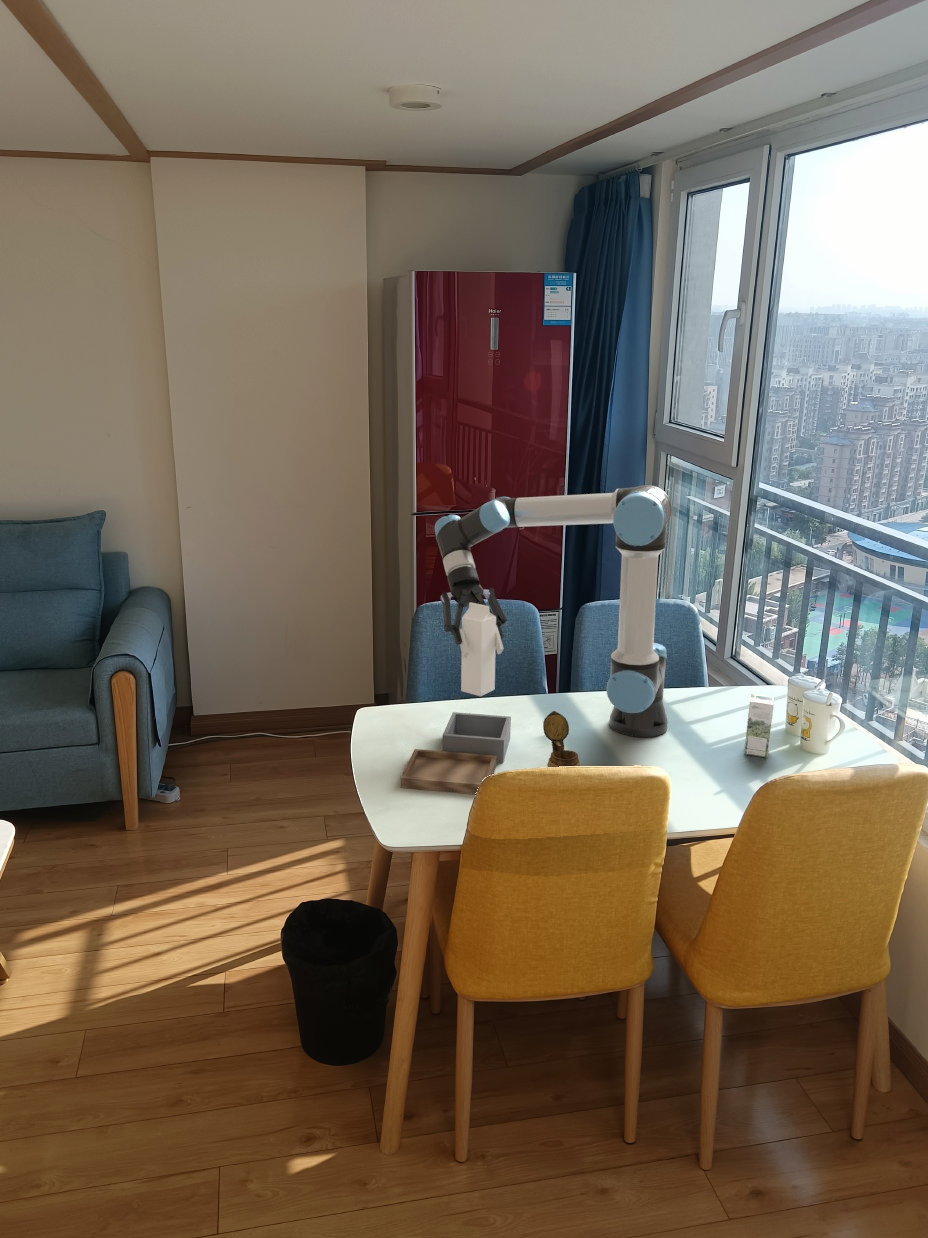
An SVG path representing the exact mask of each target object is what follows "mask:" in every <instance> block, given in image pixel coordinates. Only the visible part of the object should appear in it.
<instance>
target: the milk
mask: <svg viewBox="0 0 928 1238" xmlns="http://www.w3.org/2000/svg"><path fill="white" fill-rule="evenodd" d="M489 609H490V605H487V606H485V605H481V604H476V603H471V602H470V603H469V606H468V609H467V610H466V611H465V613H464V614H462V616H461V629H463V632H464V635H465V639H466V643H467V647H468V650H469V654H468V656H467V657H466V658H463V655H462V654H461V660H460V661H461V663H460V664H461V671H460V672H461V673H460V674H461V677H460V678H461V679H460V682H461V683H460V684H461V686H460V688H461V689H460V690H461V692H463V693H467V694H471V695H474V696H478V697H483V696H484V695H486V694H487V695H488V694H489V693H491V692H492V691H494V690H495V685H496V684H495V683H496V647H495V644H496V616H494V615H493V614H494V613H493V614H491V613H490V612H489Z"/></svg>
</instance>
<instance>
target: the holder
mask: <svg viewBox="0 0 928 1238" xmlns="http://www.w3.org/2000/svg"><path fill="white" fill-rule="evenodd" d="M511 722H512V716H509V715H508V716H507V715H496V714H494V715H493V714H480V713H470V712H469V713H468V712H456V711H452V714H451V715H450V717H449V720H448V722H447V724H446V727H445V729H444V731H443V733H442V738H441V739H442V741H441V744H442V745H441V747H442V750H441V751H446V752H458V753H470V754H483V755H495V756H497V760H496V764H497V763H498V764H503V763H504V762H505V759H506V755H507V750H508V747H509V743H510V740H511V729H512V728H511V725H512V723H511Z"/></svg>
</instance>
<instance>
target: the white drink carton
mask: <svg viewBox="0 0 928 1238" xmlns="http://www.w3.org/2000/svg"><path fill="white" fill-rule="evenodd" d="M774 703H775V697H774V696H769V695H761V694H753V693H751V694H750V699H749V706H748V714H747V715H748V716H747V722H746V724H747V725H746V730H745V731H746V733H745V740H744V751H743V752H744V753H743V754H744V755H746V756H752V757H753V756H754V757H760V758H768V756H769V755H768V754H769V748H770V747H769V746H770V741H771V740H770V738H771V729H772V723H773V722H772V721H773V716H774V715H773V713H774Z"/></svg>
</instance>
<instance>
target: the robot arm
mask: <svg viewBox="0 0 928 1238" xmlns="http://www.w3.org/2000/svg"><path fill="white" fill-rule="evenodd" d="M672 507H673V505H672V501H671V499H670V497H669V496H668V494H667V493H666V492H665V491H664V490H663V489H662V488H660V487H658V486H655V485H649V484H645V485H639V486H634V487H624V488H616V489H615V490H614V491H613V492H609V493H608V492H605V493H603V492H602V493H589V494H588V493H586V494H585V493H584V494H568V495H567V494H566V495H565V494H564V495H549V496H548V495H547V496H546V495H545V496H532V497H531V496H529V497H512V498H511V497H508V496H500V497H499V496H498V497H496V498H494V499H492V500H490V501H488V502H486V503H484V504H483V505H481V506H479V507H478V508H476V509H474V510H472V511H471V512H469V513H468V514H466V515H465V516H463V517H460V516H459V515H456V514H449V515H447V516H441V517H440V518H438V520H436V522H435V524H434V533H435V540H436V542H437V545H438V548H439V552H440V555H441V557H442V558H441V559H442V563H443V567H444V571H445V575H446V576H447V577H446V579H447V583H448V586H449V589H450V592H446V591H442V593H441V595H440V598H439V600H440V602H441V604H442V613H443V615H442V616H443V627H444V628H443V629H444V632H446V633H451V635H452V636H453V638H454V643H455V644H456V645H457V646H458V645H459V646H460V647H459V648H460V650H461V656H462V655H463V658H466V657H467V656H468V654H469V650H468V647H467V643H466V639H465V635H464V632H463V629H462V628H460V625H461V622H462V617H463V611H464V608H469V603H470V602H471V603H476V604H481V605H485V606H489V612H490V613H491V614H493V615H494V616H496V644H495V651H496V653H497V655H502V653H503V651H504V645H503V642H502V640H503V638H504V633H503V630H502V628H503V627H504V626H505V624H506V623H507V617H506V616H505V614H504V612H503V609H502V608H501V606H500V604H499V601H498V600H497V597H496V593H495V589H494V588H493V587H490V588H489V589H485V588H483V587H482V585H481V583H480V579H479V575H478V572H477V569H476V563H475V561H474V558H473V554H472V551H471V550H472V549H471V547H473V546H475V545H476V544H478V543H480V542H482V541H484V540H486V539H488V538H489V537H491V536H493V535H494V534H497V533H499V532H502V531H503V529H505V528H506V529H507V528H521V527H523V528H524V527H542V526H543V527H546V526H572V525H574V526H575V525H599V524H600V525H601V524H602V525H603V524H612V525H613V527H614V531H615V549H617V551H619V553H620V554H621V567H620V588H619V589H620V591H619V611H618V634H617V636H618V638H617V648H616V649H615V650H614V651H613V652H612V653H611V655H610V674H609V675H610V677H609V678H608V680H607V684H606V695H607V698H608V701H609V702H610V704H612V706H613V707H612V710H611V713H610V715H609V727H610V728H611V729H612V730H614V732H615V731H616V732H617V733H620V734H623V735H625V736H630V737H635V738H651V737H657V736H661V735H663V734H664V733H665V732H667V730H668V725H669V724H668V723H669V720H668V717H667V713H666V708H665V705H664V700H663V699H664V689H665V678H666V676H665V675H666V673H665V672H666V664H667V663H666V661H667V659H668V656H667V648H666V647H665V646H664V645H663V644H661V643H660V644H659V643H657V642H654V641H655V640H654V639H655V624H656V623H655V622H656V607H657V606H656V603H657V584H658V567H659V566H658V564H659V555H661V553H662V552H664V550H665V549H666V540H667V526H668V525H667V524H668V523H669V521H670V519H671V516H672V513H673V508H672ZM482 596H484V597H485V599H486V600H487V603H488V605H487V604H486V602H485V600H484V598H483V597H482ZM451 598H452V599H451ZM451 600H453V601H455V603H456V608H455V610H456V611H455V614H454V620H453V624H452V612H451Z"/></svg>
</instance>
